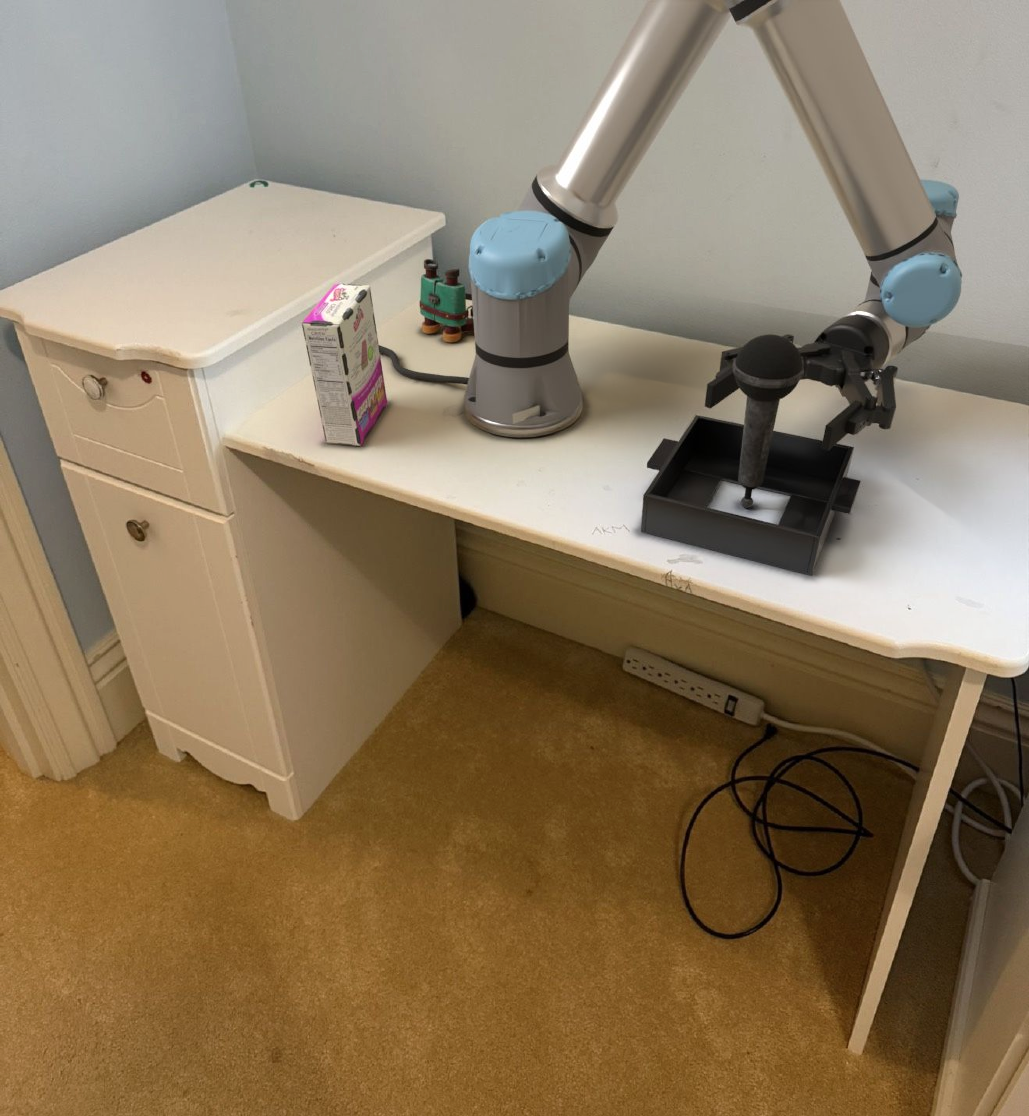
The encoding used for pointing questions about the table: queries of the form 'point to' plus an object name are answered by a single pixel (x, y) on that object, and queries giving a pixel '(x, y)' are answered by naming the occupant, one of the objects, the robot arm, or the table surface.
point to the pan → (789, 470)
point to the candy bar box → (345, 363)
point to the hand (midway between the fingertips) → (765, 416)
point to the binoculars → (444, 303)
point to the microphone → (763, 400)
